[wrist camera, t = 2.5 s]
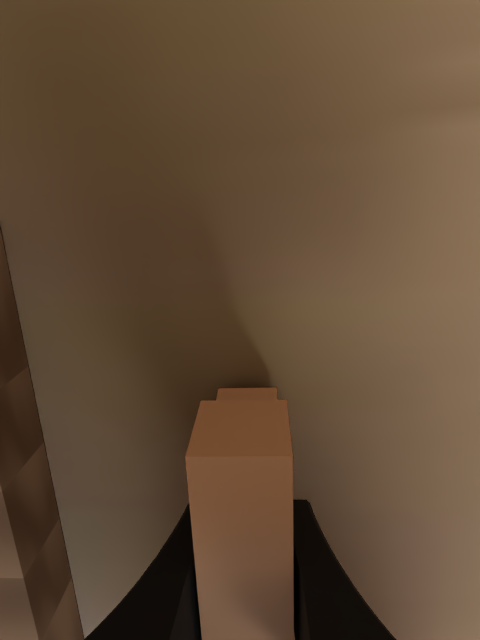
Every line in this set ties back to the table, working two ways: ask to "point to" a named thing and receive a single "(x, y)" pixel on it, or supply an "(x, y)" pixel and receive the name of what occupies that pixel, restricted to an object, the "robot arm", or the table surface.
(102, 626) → the robot arm
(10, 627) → the rail
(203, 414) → the tan wooden block
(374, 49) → the table surface
